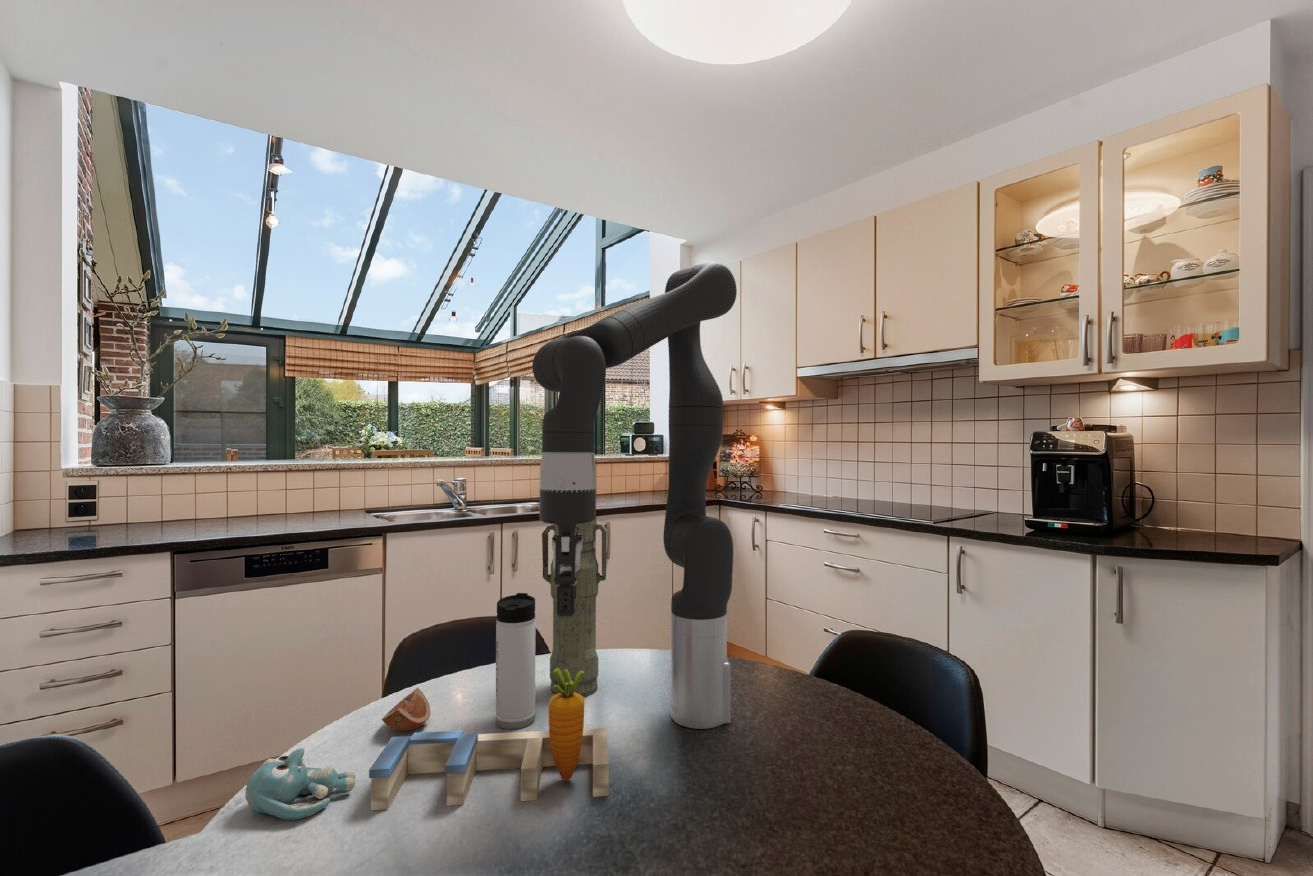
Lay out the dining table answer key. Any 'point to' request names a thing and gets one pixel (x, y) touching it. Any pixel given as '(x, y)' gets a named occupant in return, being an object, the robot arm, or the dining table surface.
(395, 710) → the fruit slice
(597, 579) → the thermos
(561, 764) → the carrot
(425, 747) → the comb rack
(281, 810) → the stuffed animal
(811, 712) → the dining table surface
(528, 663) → the travel mug
